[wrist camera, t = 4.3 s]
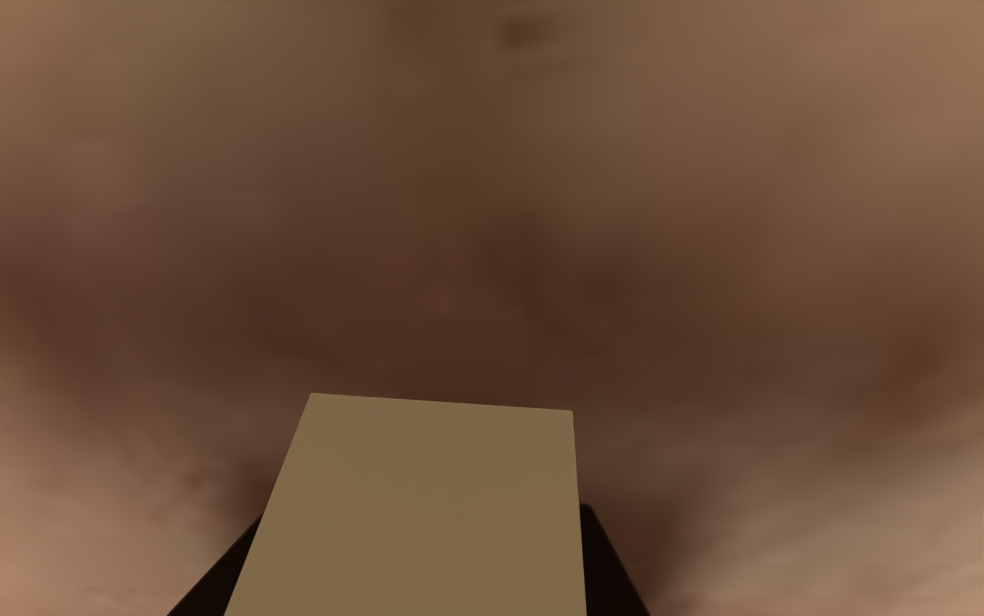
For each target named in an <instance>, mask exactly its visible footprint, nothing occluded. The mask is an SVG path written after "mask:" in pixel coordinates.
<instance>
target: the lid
mask: <svg viewBox="0 0 984 616" xmlns="http://www.w3.org/2000/svg"><path fill="white" fill-rule="evenodd" d="M224 616H587V614H586V599H585V585H584V570H583V555H582V541H581V526H580V511H579V497H578V482H577V468H576V453H575V438H574V424H573V411H570V410H556V409H541V408H526V407H512V406H497V405H482V404H468V403H453V402H438V401H423V400H409V399H394V398H379V397H365V396H350V395H335V394H321V393H310V396H309V399H308V401H307V404H306V406H305V409H304V411H303V414H302V417H301V419H300V422H299V424H298V427H297V429H296V432H295V435H294V437H293V440H292V442H291V445H290V447H289V450H288V453H287V455H286V458H285V460H284V463H283V465H282V468H281V471H280V473H279V476H278V478H277V481H276V483H275V486H274V489H273V491H272V494H271V496H270V499H269V501H268V504H267V507H266V509H265V512H264V514H263V517H262V519H261V522H260V524H259V527H258V530H257V532H256V535H255V537H254V540H253V542H252V545H251V548H250V550H249V553H248V555H247V558H246V560H245V563H244V566H243V568H242V571H241V573H240V576H239V578H238V581H237V584H236V586H235V589H234V591H233V594H232V596H231V599H230V602H229V604H228V607H227V609H226V612H225V614H224Z"/></svg>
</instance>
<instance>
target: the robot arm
mask: <svg viewBox="0 0 984 616" xmlns="http://www.w3.org/2000/svg"><path fill="white" fill-rule="evenodd" d="M579 511H580V526H581V541H582V555H583V570H584V585H585V599H586V614H587V616H651V615H650V613H649V611H648V609H647V607H646V606H645V604H644V602H643V600H642V598H641V596H640V595H639V593H638V591H637V589H636V587H635V585H634V583H633V582H632V580H631V578H630V576H629V574H628V572H627V570H626V569H625V567H624V565H623V563H622V561H621V559H620V558H619V556H618V554H617V552H616V550H615V548H614V546H613V545H612V543H611V541H610V539H609V537H608V535H607V534H606V532H605V530H604V528H603V526H602V524H601V522H600V521H599V519H598V517H597V515H596V513H595V511H594V510H593V508H592V507H591V506H590V505H589V504H587V503H580V502H579ZM264 512H265V511H264ZM264 512H263V513H262V514H261V515H260V516H259V517H258V518H257V519H256V521H255V522H254V523H253V524H252V525H251V526H250V527H249V528H248V529H247V530H246V531H245V532H244V533H243V534H242V536H241V537H240V538H239V539H238V540H237V541H236V542H235V543H234V544H233V545H232V546H231V547H230V548H229V549H228V550H227V552H226V553H225V554H224V555H223V556H222V557H221V558H220V559H219V560H218V561H217V562H216V563H215V564H214V565H213V567H212V568H211V569H210V570H209V571H208V572H207V573H206V574H205V575H204V576H203V577H202V578H201V579H200V580H199V582H198V583H197V584H196V585H195V586H194V587H193V588H192V589H191V590H190V591H189V592H188V593H187V594H186V595H185V596H184V598H183V599H182V600H181V601H180V602H179V603H178V604H177V605H176V606H175V607H174V608H173V609H172V610H171V611H170V613H169V614H168V615H167V616H224V614H225V612H226V609H227V607H228V604H229V602H230V599H231V596H232V594H233V591H234V589H235V586H236V584H237V581H238V578H239V576H240V573H241V571H242V568H243V566H244V563H245V560H246V558H247V555H248V553H249V550H250V548H251V545H252V542H253V540H254V537H255V535H256V532H257V530H258V527H259V524H260V522H261V519H262V517H263V514H264Z"/></svg>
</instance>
